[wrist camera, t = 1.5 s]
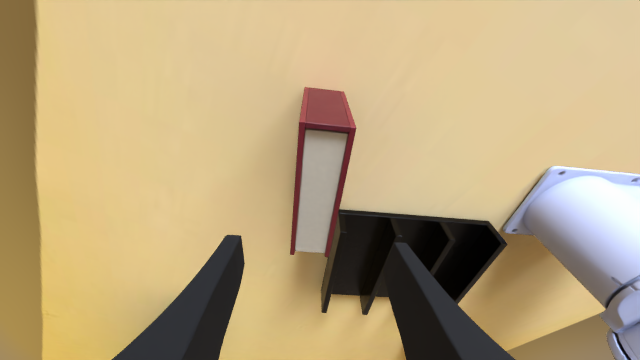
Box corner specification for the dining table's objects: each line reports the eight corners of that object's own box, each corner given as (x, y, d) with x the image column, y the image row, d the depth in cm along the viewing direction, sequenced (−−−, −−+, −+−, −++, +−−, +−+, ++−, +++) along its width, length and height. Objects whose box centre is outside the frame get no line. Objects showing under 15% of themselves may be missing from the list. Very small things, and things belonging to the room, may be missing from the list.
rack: (488, 220, 25) (508, 244, 22) (435, 295, 33) (445, 318, 30) (337, 208, 23) (340, 232, 21) (321, 289, 31) (321, 313, 29)
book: (344, 91, 17) (356, 127, 12) (326, 199, 23) (328, 257, 17) (304, 87, 17) (299, 121, 12) (296, 197, 23) (290, 254, 17)
